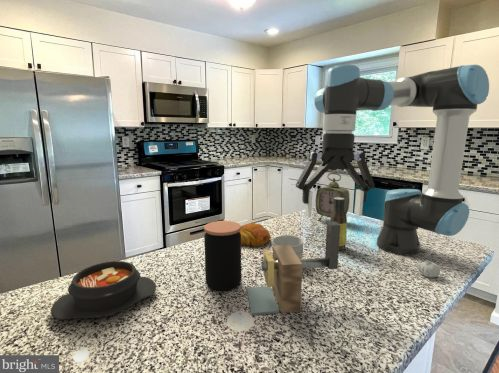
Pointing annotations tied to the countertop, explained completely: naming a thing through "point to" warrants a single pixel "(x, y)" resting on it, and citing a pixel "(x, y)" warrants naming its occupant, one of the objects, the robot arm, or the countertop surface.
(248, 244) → the croissant
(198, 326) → the countertop surface
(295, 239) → the teacup
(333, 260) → the shaft
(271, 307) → the slate mat
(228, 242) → the coffee jar
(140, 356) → the countertop surface
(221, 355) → the countertop surface
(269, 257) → the plate
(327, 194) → the tabletop clock
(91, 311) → the casserole
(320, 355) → the countertop surface
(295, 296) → the bearing block
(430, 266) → the garlic
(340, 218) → the sauce bottle
